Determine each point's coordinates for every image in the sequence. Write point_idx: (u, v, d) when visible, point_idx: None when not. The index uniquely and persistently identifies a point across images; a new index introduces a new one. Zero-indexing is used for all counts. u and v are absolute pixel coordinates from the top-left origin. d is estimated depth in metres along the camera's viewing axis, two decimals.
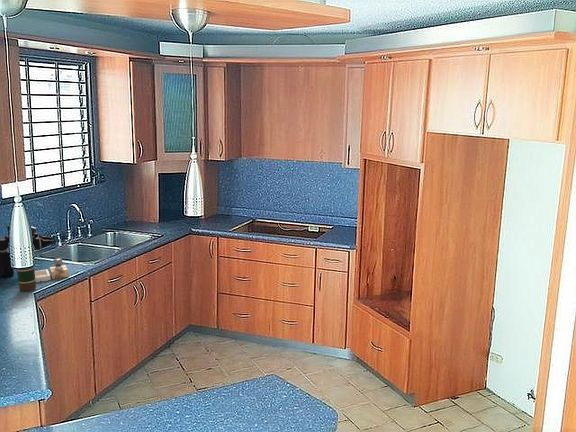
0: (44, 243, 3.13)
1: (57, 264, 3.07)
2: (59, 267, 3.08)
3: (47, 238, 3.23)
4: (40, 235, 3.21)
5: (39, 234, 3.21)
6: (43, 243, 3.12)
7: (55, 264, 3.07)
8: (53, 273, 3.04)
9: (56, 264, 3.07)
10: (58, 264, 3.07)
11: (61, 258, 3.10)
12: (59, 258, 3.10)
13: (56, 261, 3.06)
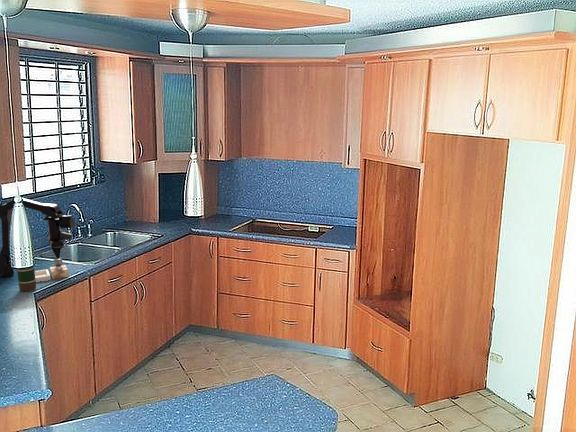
0: (56, 250, 3.02)
1: (57, 264, 3.07)
2: (59, 267, 3.08)
3: None
4: None
5: None
6: (56, 249, 3.02)
7: (55, 264, 3.07)
8: (53, 273, 3.04)
9: (56, 264, 3.07)
10: (58, 264, 3.07)
11: (61, 258, 3.10)
12: (59, 258, 3.10)
13: (56, 261, 3.06)
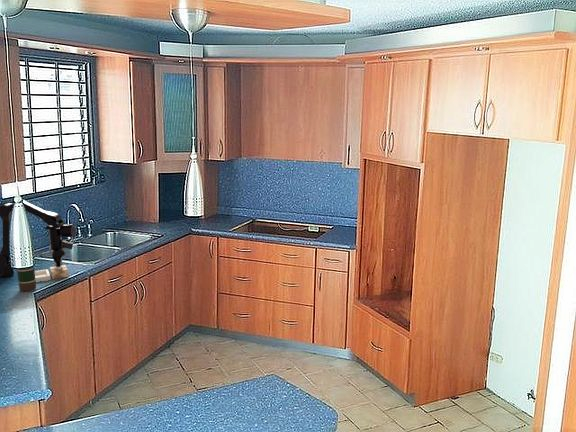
0: (57, 258, 3.05)
1: None
2: (59, 267, 3.08)
3: None
4: None
5: None
6: (57, 257, 3.05)
7: (55, 264, 3.07)
8: (53, 273, 3.04)
9: (56, 264, 3.07)
10: None
11: (61, 258, 3.10)
12: None
13: None
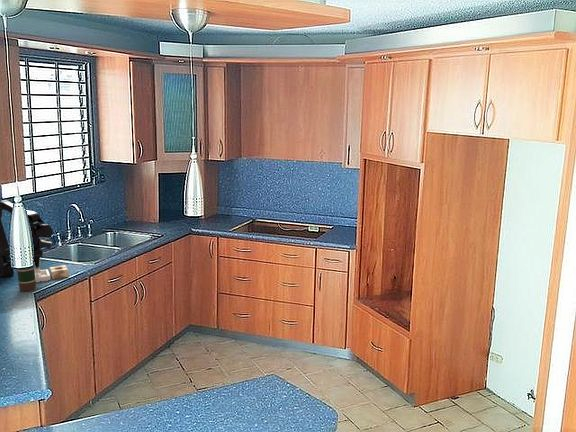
0: (35, 258, 2.98)
1: (35, 266, 3.02)
2: (37, 269, 3.04)
3: None
4: None
5: None
6: (35, 257, 2.98)
7: None
8: (53, 273, 3.04)
9: (34, 266, 3.02)
10: None
11: (39, 260, 3.06)
12: None
13: None
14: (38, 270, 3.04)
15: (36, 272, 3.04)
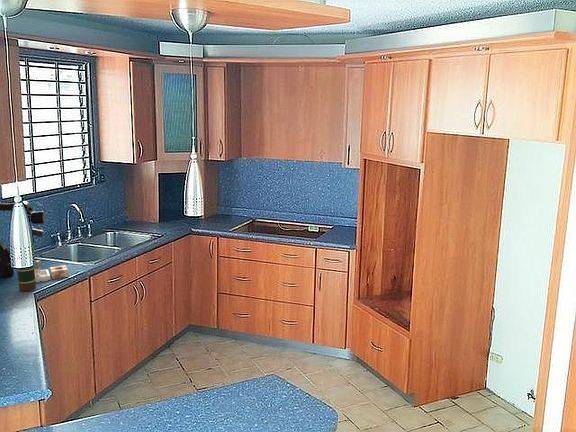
0: None
1: (35, 266, 3.02)
2: (38, 269, 3.03)
3: None
4: None
5: None
6: None
7: None
8: (53, 273, 3.04)
9: (34, 266, 3.02)
10: (36, 266, 3.02)
11: (40, 260, 3.05)
12: (38, 260, 3.05)
13: None
14: (38, 270, 3.04)
15: (36, 272, 3.03)
